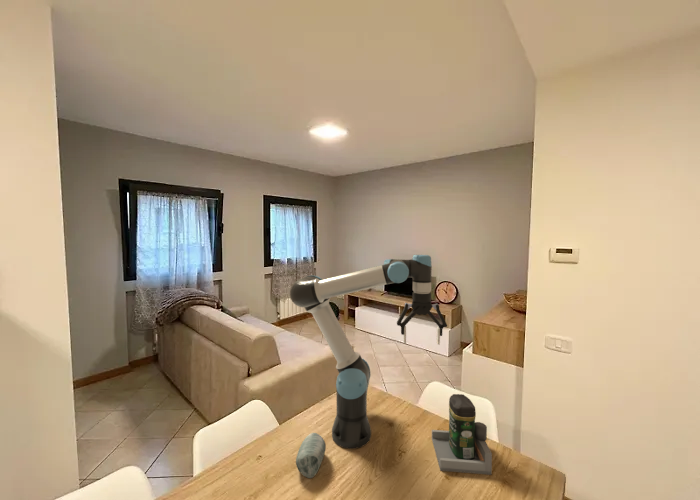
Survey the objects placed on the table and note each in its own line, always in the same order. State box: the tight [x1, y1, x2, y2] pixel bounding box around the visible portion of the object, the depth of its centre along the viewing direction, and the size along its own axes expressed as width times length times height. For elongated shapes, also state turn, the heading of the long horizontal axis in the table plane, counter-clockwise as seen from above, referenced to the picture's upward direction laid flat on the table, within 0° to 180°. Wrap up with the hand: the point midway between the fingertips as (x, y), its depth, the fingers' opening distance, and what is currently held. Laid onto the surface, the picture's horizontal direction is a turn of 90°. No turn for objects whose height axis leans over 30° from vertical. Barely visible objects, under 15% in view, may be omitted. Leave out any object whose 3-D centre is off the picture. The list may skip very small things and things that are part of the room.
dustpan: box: [431, 421, 493, 476], centre depth 98 cm, size 17×15×11 cm
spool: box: [295, 432, 327, 479], centre depth 94 cm, size 14×10×10 cm
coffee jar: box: [448, 393, 477, 460], centre depth 99 cm, size 10×8×19 cm
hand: (421, 342), depth 117 cm, fingers open, 13 cm apart
